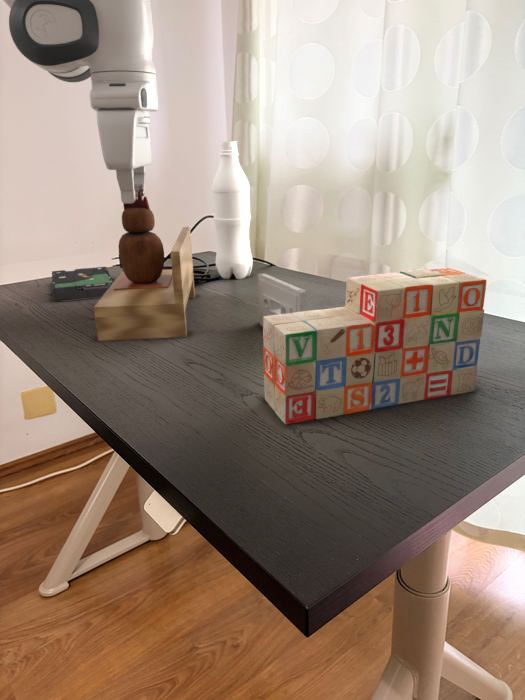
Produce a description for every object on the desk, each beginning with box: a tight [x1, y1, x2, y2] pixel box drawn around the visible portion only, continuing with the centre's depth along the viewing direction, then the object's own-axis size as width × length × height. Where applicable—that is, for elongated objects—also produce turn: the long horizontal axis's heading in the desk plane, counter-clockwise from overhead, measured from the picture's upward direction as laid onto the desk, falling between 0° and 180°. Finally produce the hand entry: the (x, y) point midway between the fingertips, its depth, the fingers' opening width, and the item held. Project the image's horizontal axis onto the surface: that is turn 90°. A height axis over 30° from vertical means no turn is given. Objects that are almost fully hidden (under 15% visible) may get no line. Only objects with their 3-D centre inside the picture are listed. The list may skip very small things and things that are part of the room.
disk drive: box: [51, 266, 114, 302], centre depth 107 cm, size 10×3×15 cm
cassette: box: [257, 272, 307, 327], centre depth 79 cm, size 12×2×8 cm, turn 26°
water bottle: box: [211, 140, 253, 280], centre depth 110 cm, size 7×7×25 cm
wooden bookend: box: [93, 226, 196, 342], centre depth 88 cm, size 12×22×12 cm, turn 3°
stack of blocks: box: [262, 267, 487, 425], centre depth 59 cm, size 21×6×12 cm, turn 109°
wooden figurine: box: [118, 188, 165, 283], centre depth 88 cm, size 7×6×15 cm
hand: (134, 199), depth 86 cm, fingers open, 8 cm apart
